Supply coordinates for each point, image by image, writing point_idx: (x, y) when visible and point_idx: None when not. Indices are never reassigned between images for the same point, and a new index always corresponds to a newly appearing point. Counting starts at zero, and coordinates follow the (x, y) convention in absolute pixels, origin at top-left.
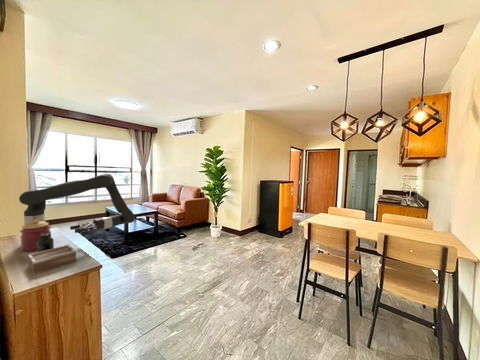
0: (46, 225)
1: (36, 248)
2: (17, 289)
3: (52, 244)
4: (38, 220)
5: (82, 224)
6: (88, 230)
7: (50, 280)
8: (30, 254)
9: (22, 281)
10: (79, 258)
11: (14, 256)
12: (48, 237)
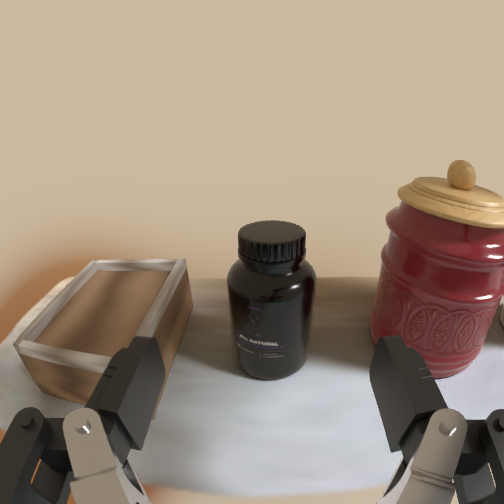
0: (446, 218)
1: (371, 321)
2: (72, 277)
3: (239, 319)
4: (465, 172)
5: (401, 489)
6: (52, 480)
7: (31, 310)
8: (176, 261)
9: None
10: (54, 417)
11: (353, 290)
12: (239, 255)
